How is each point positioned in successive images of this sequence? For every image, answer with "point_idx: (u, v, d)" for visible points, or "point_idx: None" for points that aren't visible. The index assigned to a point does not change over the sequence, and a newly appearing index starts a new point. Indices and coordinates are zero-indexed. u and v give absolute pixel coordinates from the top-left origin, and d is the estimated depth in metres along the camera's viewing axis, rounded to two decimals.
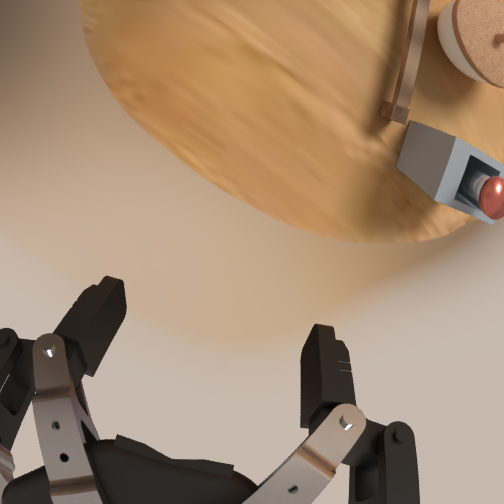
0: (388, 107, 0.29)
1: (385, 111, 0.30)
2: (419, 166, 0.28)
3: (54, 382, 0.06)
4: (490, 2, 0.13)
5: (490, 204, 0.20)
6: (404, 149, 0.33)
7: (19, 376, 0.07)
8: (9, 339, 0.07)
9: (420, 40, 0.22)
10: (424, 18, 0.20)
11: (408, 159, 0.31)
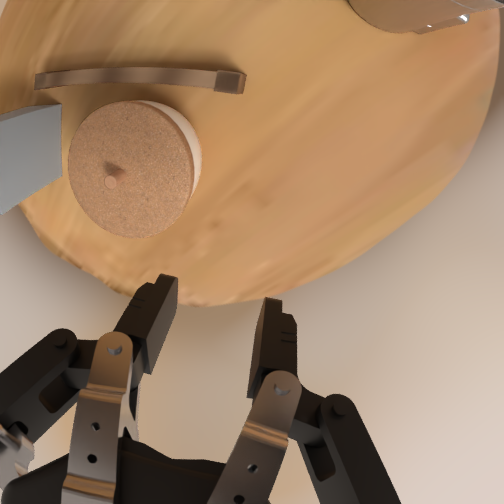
0: None
1: None
2: (4, 115, 0.22)
3: (109, 382, 0.07)
4: (171, 163, 0.21)
5: None
6: (36, 106, 0.26)
7: (69, 379, 0.08)
8: (67, 340, 0.08)
9: (108, 79, 0.22)
10: (137, 79, 0.22)
11: (22, 109, 0.24)
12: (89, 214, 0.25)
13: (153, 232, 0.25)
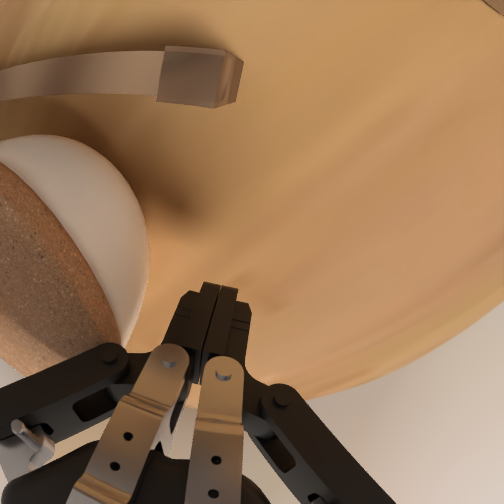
0: None
1: None
2: None
3: (155, 395, 0.07)
4: (55, 316, 0.07)
5: None
6: None
7: (110, 394, 0.08)
8: (116, 355, 0.08)
9: None
10: (16, 90, 0.08)
11: None
12: None
13: None
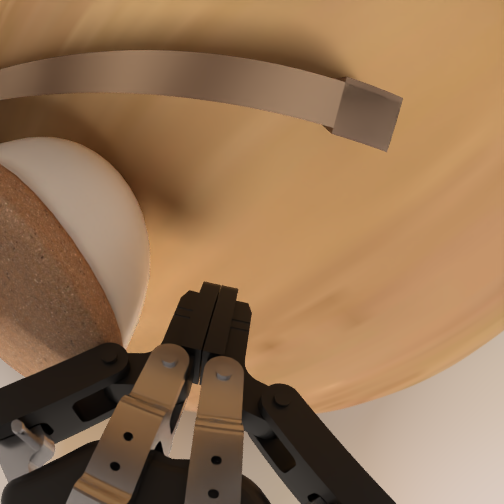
0: None
1: None
2: None
3: (155, 395, 0.07)
4: (55, 316, 0.07)
5: None
6: None
7: (110, 394, 0.08)
8: (116, 355, 0.08)
9: (52, 84, 0.08)
10: (117, 82, 0.08)
11: None
12: None
13: None
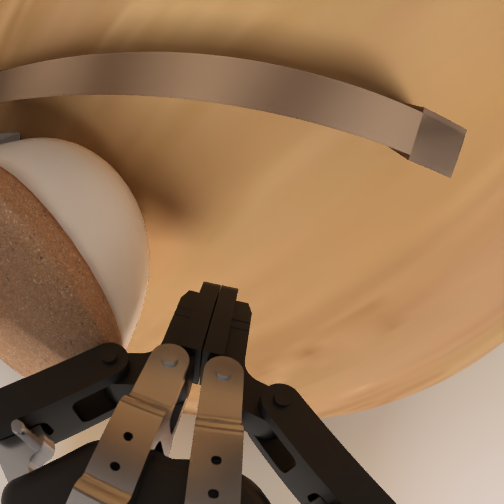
0: None
1: None
2: None
3: (155, 395, 0.07)
4: (55, 317, 0.07)
5: None
6: None
7: (110, 394, 0.08)
8: (116, 355, 0.08)
9: (105, 83, 0.08)
10: (193, 88, 0.08)
11: None
12: None
13: None
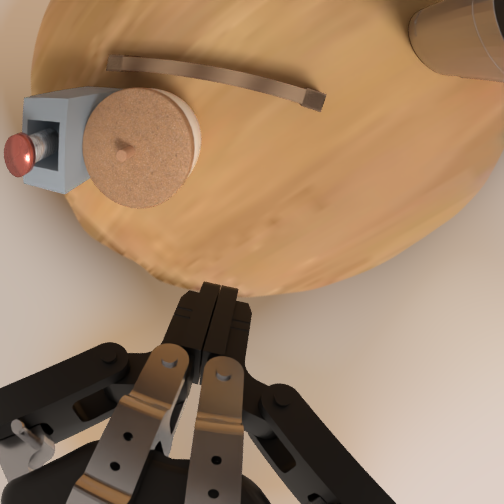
0: None
1: None
2: (68, 91, 0.24)
3: (155, 395, 0.07)
4: (175, 142, 0.25)
5: (10, 146, 0.19)
6: (98, 87, 0.29)
7: (110, 394, 0.08)
8: (116, 355, 0.08)
9: (198, 75, 0.25)
10: (229, 81, 0.25)
11: (84, 88, 0.27)
12: (98, 185, 0.28)
13: (154, 203, 0.28)
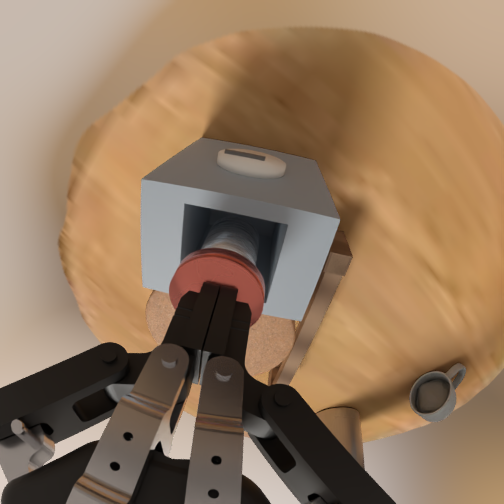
0: None
1: None
2: None
3: (155, 394, 0.07)
4: None
5: (238, 291, 0.12)
6: None
7: (110, 394, 0.08)
8: (116, 355, 0.08)
9: (299, 342, 0.29)
10: (290, 361, 0.31)
11: None
12: None
13: None
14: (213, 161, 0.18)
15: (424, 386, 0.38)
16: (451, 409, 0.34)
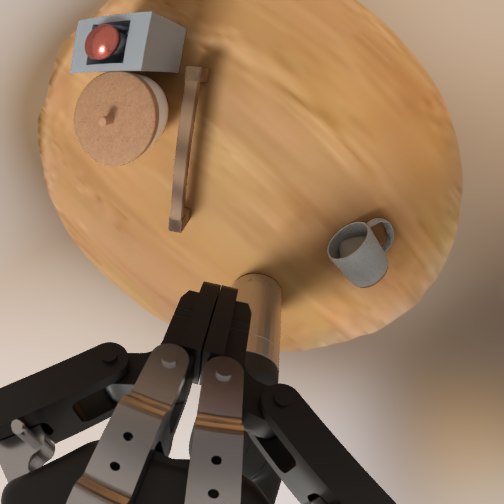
0: (203, 77, 0.32)
1: (205, 73, 0.33)
2: (167, 34, 0.26)
3: (155, 395, 0.07)
4: (119, 155, 0.32)
5: (107, 34, 0.21)
6: (181, 45, 0.31)
7: (110, 394, 0.08)
8: (116, 355, 0.08)
9: (179, 147, 0.36)
10: (176, 171, 0.38)
11: (177, 38, 0.29)
12: (84, 91, 0.28)
13: (80, 142, 0.32)
14: None
15: (344, 241, 0.44)
16: (379, 264, 0.40)
